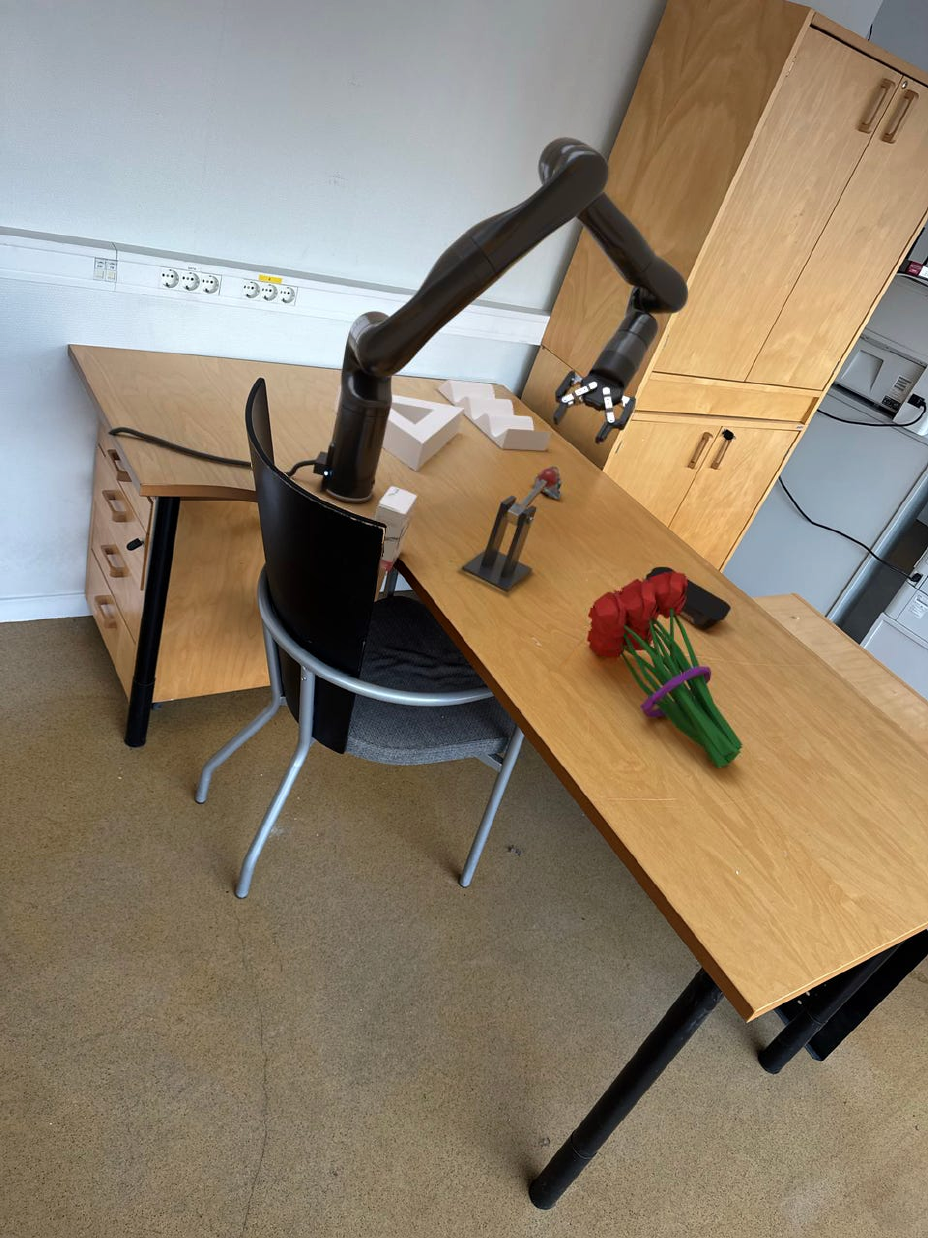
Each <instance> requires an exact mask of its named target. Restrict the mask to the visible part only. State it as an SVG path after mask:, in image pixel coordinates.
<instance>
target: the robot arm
mask: <svg viewBox="0 0 928 1238" xmlns="http://www.w3.org/2000/svg"><path fill="white" fill-rule="evenodd" d="M537 175H538V179H539V182H540V184H541V186H540V187H539V188H537V190H536V191H535V192H534V193H533V194H531V195H530V196H529V197H528V198H526V199H525V200H523V201H521V203H519V204H517V205H515V206H512V207H510V208H509V209H507V210H503V211H501V212H499V213H497V214H493V215H491V216H490V217H486V218H485V219H483V220H481V221H479V222H477V223H476V224H474V225H472V226H471V227H470V228H469V229H468V230H466V231H465V232H464V233H463V234H462V235H460V236H459V237H458V238H457V239H456V240H454V241H453V242H452V243H451V244H450V245H449V246H448V247H447V248H446V249H445V250H444V251H443V252H442V253H441V255H440V256H439V257H438V258H437V260H436V261H435V263H434V264H433V265H432V267H431V268H430V271H428V273H427V275H426V277H425V278H424V280H423V282H422V283H421V285H420V287H419V288H418V290H417V291H416V292H415V294H414V295H413V296H411V298H410V299H409V300H407V302H406V303H404V305H402V306H401V307H399V308H398V309H397V310H396V311H395V312H393V314H391V315H390V316H389V315H388V314H387V313H385V312H382V311H377V310H371V311H367V312H365V313H362V314H360V315H359V316H357V318H356V319H355V320H354V321H353V323H352V324H351V326H350V329H349V330H348V334H347V338H346V343H345V348H344V353H343V354H344V355H343V360H342V365H341V366H342V367H341V373H340V385H341V394H340V399H339V405H338V410H337V413H336V414H335V415H336V416H335V420H334V426H333V431H332V436H331V440H330V442H329V444H328V447H327V451H323V450H320V451H319V453H318V455H317V457H316V459H309V460H302V461H300V462H297V463H295V464H294V465H293V466H292V468H290V470H289V471H284V473H286V474H287V475H288V476H289V477H288V478H290V477H293V475H295V474H296V473H297V471H298V470H299V469H300V468H303V467H308V466H313V470H312V473H313V474H316V475H320V476H322V479H321V482H320V483H321V484H320V488H319V491H320V492H321V493H325V494H327V495H328V496H329V497H331V498H333V499H336V500H338V501H341V502H344V503H349V504H350V503H351V504H362V503H365V502H368V501H370V500H371V498H372V494H373V489H374V486H375V485H376V475H377V470H378V466H379V462H380V458H381V453H382V449H383V447H382V445H383V440H384V436H385V432H386V427H387V423H388V419H389V414H390V410H391V406H392V395H393V392H392V378H393V376H395V375H397V374H398V373H399V372H401V371H402V370H403V369H404V368H405V367H406V366H408V364H410V362H411V361H412V360H413V359H414V358H415V357H416V355H417V354H418V353H419V352H420V351H422V349H423V348H424V347H425V346H426V345H427V344H428V343H429V342H430V340H431V339H432V338H433V337H435V335H436V334H437V333H438V332H440V330H441V329H443V328H444V327H445V326H446V325H447V324H449V323H450V322H451V321H452V320H454V319H455V318H456V316H459V314H460V313H462V311H464V310H465V309H466V308H467V307H469V305H471V304H472V303H473V302H474V301H475V300H477V298H479V297H480V296H482V295H483V294H484V293H485V292H486V291H488V289H490V288H491V287H492V286H493V285H494V284H496V283H497V282H498V281H499V280H500V279H501V278H503V276H505V274H507V272H509V270H511V269H512V268H513V267H514V266H515V265H517V264H518V263H519V262H520V261H522V260H523V259H524V258H526V256H527V255H528V254H530V253H531V252H532V251H533V250H535V248H537V246H539V245H540V244H541V243H542V242H544V241H545V240H546V239H547V238H549V237H550V236H551V235H552V234H554V233H555V232H556V231H558V230H559V229H560V228H562V227H564V226H565V225H566V224H568V223H570V222H571V221H572V220H573V219H575V218H576V219H577V221H578V222H579V223H580V224H581V225H582V226H583V227H584V229H585V230H586V231H587V232H588V234H589V235H590V236H591V238H592V239H593V241H594V242H595V243H596V244H597V246H598V247H599V248H600V250H601V252H602V253H603V254H604V256H605V257H606V258H607V260H608V261H609V263H610V264H611V265H612V266H613V268H614V269H615V270H616V272H617V273H618V274H619V276H620V277H621V278H622V280H623V281H624V282H625V283H626V284H628V285H629V286H632V288H631V291H630V294H629V298H628V300H627V305H626V308H625V313H624V316H623V318H622V320H621V322H620V323H619V325H618V327H617V329H616V330H615V332H614V333H613V334H612V336H611V337H610V338H609V340H608V341H607V342H606V344H605V345H604V347H603V348H602V350H601V351H600V353H599V355H598V357H596V360H595V362H594V363H593V365H592V367H591V368H590V369H589V371H588V372H587V375H585V376H584V377H581V376H579V375H576V370H570V371H569V372H568V373H567V374H566V376H565V377H564V379H563V380H562V382H561V383H560V384H559V386H558V387H557V389H556V390H555V391H554V397H555V399H554V401H555V402H556V403H557V404H558V406H557V408H556V409H555V411H554V413H553V415H552V419H553V424H554V425H555V426H559V425H560V424H561V422H562V420H563V419H564V417H565V415H566V414H567V412H568V409H570V408H573V407H578V406H580V405H583V404H584V406H585V407H588V408H593V409H594V410H595V411H597V412H598V413H599V412H604V417H605V421H604V423H603V425H602V426H601V428H600V430H598V432H597V434H596V436H595V439H594V440H595V441H594V444H597V445H600V444H601V443H602V444H603V443H604V442H606V440H607V438H608V437H609V435H610V433H611V432H612V431H613V430H614V429H615V430H618V431H622V432H623V431H624V430H625V428H626V427H627V424H628V422H629V421H630V419H631V416H632V415H633V413H634V410H635V409H636V406H637V405H636V404H637V398H636V397H635V396H630V397H628V396H625V395H624V394H625V392H626V390H627V388H628V387H629V385H630V383H631V382H632V380H633V379H634V377H635V375H636V374H637V373H638V372H639V370H640V367H641V365H642V364H643V362H644V359H645V356H646V354H647V353H648V351H649V349H650V348H651V346H652V344H653V342H654V341H655V340H656V337H657V335H658V332H659V329H660V328H659V323H658V321H657V319H656V317H655V316H653V315H674V314H677V313H679V312H680V311H682V310H683V309H684V308H685V306H686V304H687V303H688V300H689V286H688V284H687V281H686V280H685V277H684V276H683V275H682V274H681V273H680V271H679V270H677V269H676V268H675V267H674V266H672V265H671V264H670V263H669V262H668V261H666V260H665V259H663V258H662V257H661V256H659V255H658V254H656V252H655V251H654V249H653V247H652V246H651V244H650V243H649V242H648V240H647V239H646V238H645V236H644V234H643V233H642V232H641V231H640V230H639V227H637V226H636V225H635V223H633V221H632V220H630V218H629V217H628V216H627V215H626V214H625V213H624V212H623V211H622V210H621V209H620V208H619V207H618V205H616V203H614V201H613V199H611V198H610V197H609V194H607V193H606V192H605V190H606V187H607V185H608V183H609V179H610V166H609V163H608V160H607V158H606V157H605V155H603V154H602V153H601V152H600V151H599V150H597V149H596V148H594V147H592V146H591V145H588V144H587V143H585V142H583V141H581V140H580V139H577V138H574V137H569V136H562V137H561V136H560V137H558V138H555V139H553V140H552V141H550V142H549V143H548V144H547V145H546V146H545V147H544V148H543V150H542V152H541V154H540V156H539V159H538V165H537ZM578 385H579V386H580V388H578V389H575V390H573V391H572V393H570V394H568V393H569V392H570V390H571V388H575V387H577V386H578ZM620 404H622V409H623V410H622V413H621V415H620V416H619V418H615V415H614V407H615V406H618V405H620ZM119 433H121V434H122V433H123V434H129V435H132V436H134V437H137V438H139V439H142V440H146V441H149V442H153V443H156V444H159V445H162V446H164V447H167V448H169V449H172V450H175V451H178V452H180V453H183V454H187V455H190V456H194V457H197V458H200V459H204V460H209V461H213V462H216V463H220V464H221V463H222V464H227V465H233V466H239V467H246V468H250V469H251V468H252V467H251V462H252V461H246V460H239V459H235V458H234V459H233V458H227V457H221V456H217V455H213V454H209V453H205V452H202V451H198V450H195V449H191V448H189V447H188V448H187V447H185V446H182V445H178V444H176V443H173V442H170V441H169V440H165V439H163V438H160V437H157V436H154V435H151V434H147V433H144V432H141V431H138V430H136V429H133V428H130V427H124V426H119V427H115V428H113V429H111V430H110V431H108V432H107V434H108V435H110V436H114V435H117V434H119ZM252 469H253V468H252Z"/></svg>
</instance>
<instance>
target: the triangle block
mask: <svg viewBox="0 0 928 1238" xmlns="http://www.w3.org/2000/svg"><path fill="white" fill-rule="evenodd" d="M340 394H341V384H338V387H337V393H336V396H335V397H336V398H335V403H334V408H333V412H334V413H335V414H337V410H338V405H339V399H340ZM464 409H465V408H461V407H456V406H455V405H449V404H445V403H441V402H440V403H439V402H434V401H428V400H423V399H418V398H412V397H407V396H402V395H398V394H392V406H391V410H390V414H389V419H388V423H387V427H386V432H385V436H384V440H383V445H382V449H384V450H386V451H387V452H388V453H390V454H391V455H392V456H394V457H395V458H397V459H398V460H399V461H401V462H402V463H403V464H405V465H406V466H407V467H409V468H410V469H412V470H413V471H414V472H417V471H418V470H419V469H420V468H421V467H422V466H424V465H425V464H426V463H427V462H428V461H429V460H430V459H431V458H433V456H435V454H437V453H438V452H439V451H440V450H442V448H443V447H444V446H445V445H447V443H449V442H450V441H451V440H452V439H453V438H454V437H455V436H456V435H457V434H459V431H460V426H461V423H462V420H463V416H464Z"/></svg>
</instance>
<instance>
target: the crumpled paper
mask: <svg viewBox="0 0 928 1238" xmlns="http://www.w3.org/2000/svg"><path fill="white" fill-rule="evenodd" d="M550 468H551V469H553V470H555V472H556V473H557V476H558V480H557V482H556V484H555V485H554V486H552V487H545V488H544V489H543V490H542V491H541V492H542V493H544V494H545V495H547V496H548V497H549V498H552V499H555V500H560V499H561V497H562V491H561V490H560V489H561V486H562V483H563V480H562V477H561V474H560V472H559V468H558V467H556V466H550ZM539 474H540V472H537V476H536V477H535V478H534V483H533V484H534V485H533V489H534V488H535V486H536V485H537V484H538V483H539Z"/></svg>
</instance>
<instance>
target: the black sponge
mask: <svg viewBox="0 0 928 1238" xmlns="http://www.w3.org/2000/svg"><path fill="white" fill-rule="evenodd" d="M673 571H675V570H674V569H673V568H671V567H668V566H656V567H652V569H651V571H650V572H649V573H647V574H645V579H646V580H648V581H649V578H650V577H653V576H656V575H660V574H663V573H665V572H668V573H669V572H673ZM675 572H677V571H675ZM731 609H732V607H731V605H729V603H727V602H726V601H725V600H724V599H722V598H720V597H719V596H717V595H715V594H714V593H711V592H710V591H709V590H706V589H705V588H704V587H702V586H700V585H699V584H696V583H695V582H693V581H691V580H690V579H689V578H687V589H686V602H685V603H684V605H683V607H682V608H681V610H682V611H683V612H682V613H679V614H678V615H680V617H683V619H686V620H687V621H688V622H690V623H692V624H693V625H694V626H696V627H698V628H699V629H702V630H709V629H711V628H713V627H715V626H716V625H717V624H718V623H719V622H721V621H723V620H725V619H726V618H727V616H728V614H729V613H730V611H731Z"/></svg>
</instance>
